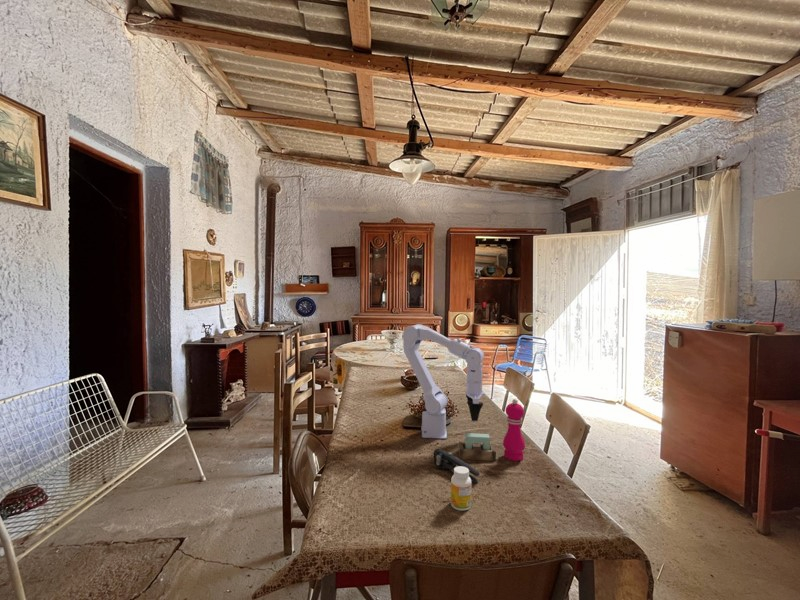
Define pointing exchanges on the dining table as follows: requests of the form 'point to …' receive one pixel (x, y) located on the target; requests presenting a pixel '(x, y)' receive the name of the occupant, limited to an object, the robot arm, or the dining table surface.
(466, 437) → the mint green foam block
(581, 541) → the dining table surface
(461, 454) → the brown wooden frame
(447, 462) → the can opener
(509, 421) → the pepper mill
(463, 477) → the supplement bottle
